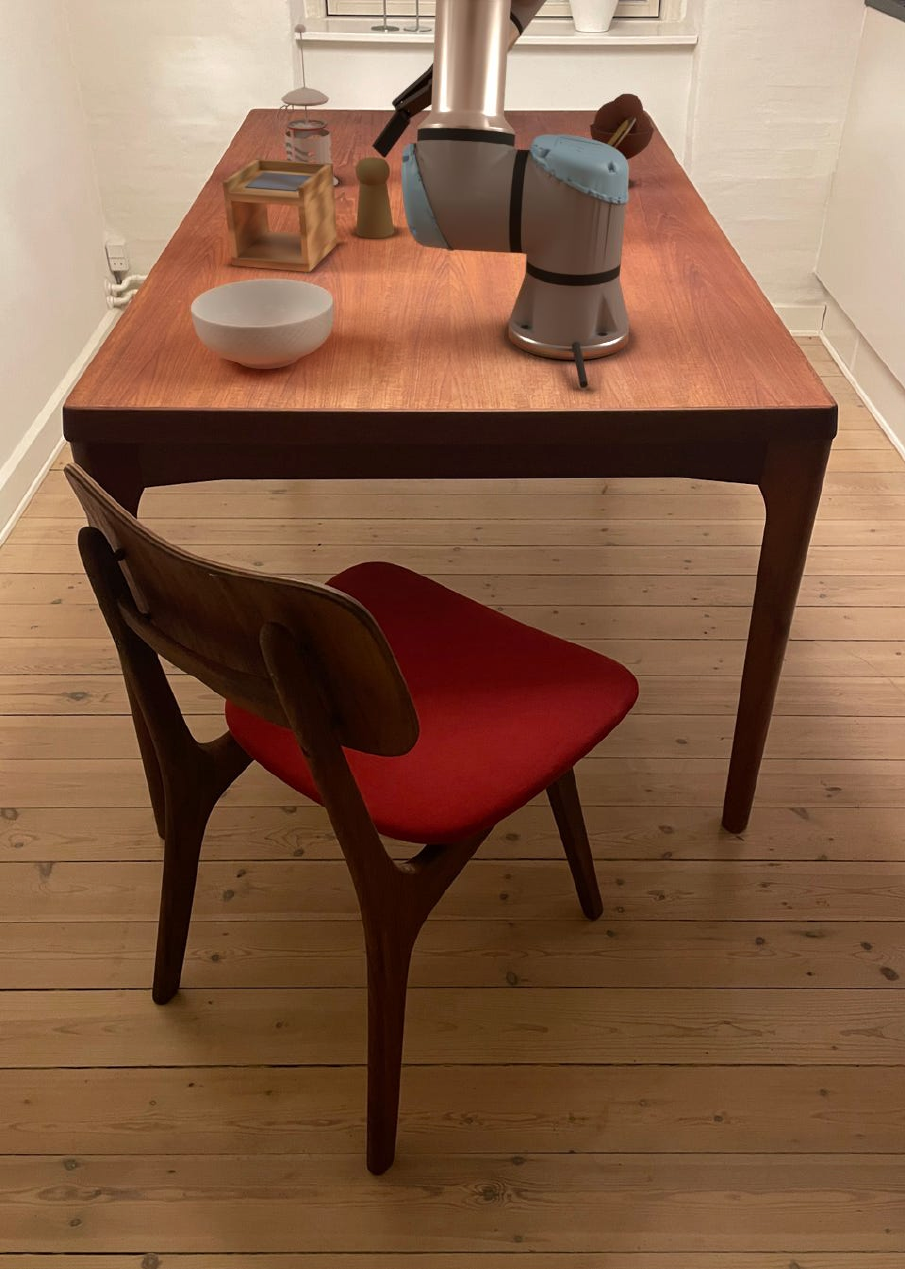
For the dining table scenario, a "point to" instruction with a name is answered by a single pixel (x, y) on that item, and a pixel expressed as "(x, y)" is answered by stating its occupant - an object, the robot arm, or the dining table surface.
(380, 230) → the olive pawn piece
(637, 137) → the ice cream bowl
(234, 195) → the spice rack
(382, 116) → the dining table surface
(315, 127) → the french press
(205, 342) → the cereal bowl
